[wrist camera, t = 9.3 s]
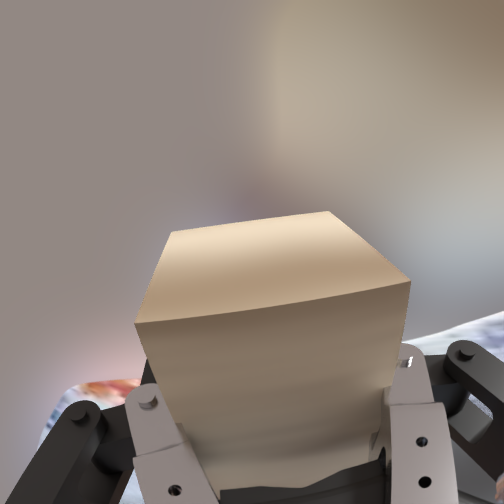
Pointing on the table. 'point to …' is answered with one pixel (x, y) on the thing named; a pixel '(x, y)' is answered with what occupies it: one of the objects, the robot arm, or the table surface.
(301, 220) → the pillar
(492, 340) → the table surface
